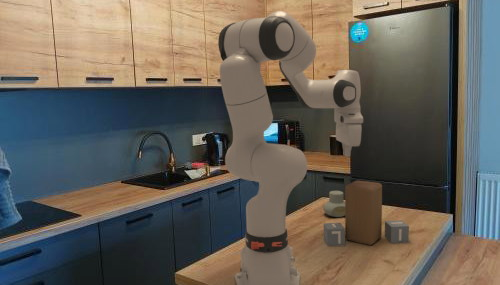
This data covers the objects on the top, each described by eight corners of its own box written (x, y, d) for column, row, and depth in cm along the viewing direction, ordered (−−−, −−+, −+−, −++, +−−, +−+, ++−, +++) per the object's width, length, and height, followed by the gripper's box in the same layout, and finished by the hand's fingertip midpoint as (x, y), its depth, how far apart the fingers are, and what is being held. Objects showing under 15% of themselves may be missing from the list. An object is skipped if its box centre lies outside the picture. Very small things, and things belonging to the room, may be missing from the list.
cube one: (408, 243, 131) (409, 225, 131) (391, 243, 131) (391, 226, 130) (401, 236, 138) (401, 219, 137) (384, 237, 137) (384, 220, 137)
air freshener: (344, 211, 168) (344, 189, 167) (352, 217, 160) (352, 193, 158) (320, 213, 166) (320, 190, 165) (327, 219, 158) (327, 195, 157)
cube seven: (344, 245, 131) (344, 228, 130) (327, 246, 131) (327, 228, 130) (340, 238, 137) (340, 222, 136) (323, 239, 137) (323, 222, 136)
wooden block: (356, 231, 143) (356, 179, 141) (382, 237, 137) (383, 182, 134) (344, 240, 136) (344, 185, 133) (371, 246, 129) (372, 188, 127)
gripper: (331, 115, 144) (331, 152, 145) (345, 118, 123) (345, 160, 125) (348, 115, 144) (348, 151, 145) (365, 118, 124) (364, 160, 125)
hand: (346, 156), depth 135 cm, fingers closed
